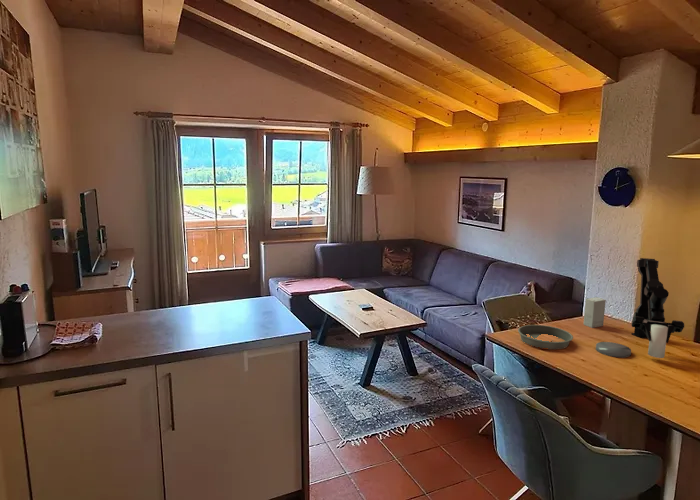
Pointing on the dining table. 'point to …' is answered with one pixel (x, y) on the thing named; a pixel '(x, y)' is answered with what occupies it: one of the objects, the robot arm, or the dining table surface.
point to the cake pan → (542, 329)
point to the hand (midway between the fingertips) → (658, 341)
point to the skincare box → (594, 312)
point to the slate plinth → (613, 349)
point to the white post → (657, 341)
